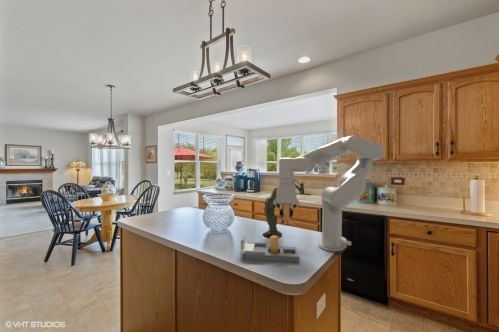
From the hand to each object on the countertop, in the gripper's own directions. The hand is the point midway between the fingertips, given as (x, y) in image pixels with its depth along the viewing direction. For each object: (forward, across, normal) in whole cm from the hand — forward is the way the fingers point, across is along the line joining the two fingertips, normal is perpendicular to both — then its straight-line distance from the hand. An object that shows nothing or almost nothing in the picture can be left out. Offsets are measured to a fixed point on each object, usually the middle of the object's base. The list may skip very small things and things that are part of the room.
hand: (286, 216), depth 121 cm
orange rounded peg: (+2, 0, 0) cm, 2 cm away
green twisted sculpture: (+16, +6, -19) cm, 26 cm away
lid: (+13, +19, +12) cm, 26 cm away
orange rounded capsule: (+16, +6, +12) cm, 21 cm away
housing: (+16, +8, +12) cm, 21 cm away
